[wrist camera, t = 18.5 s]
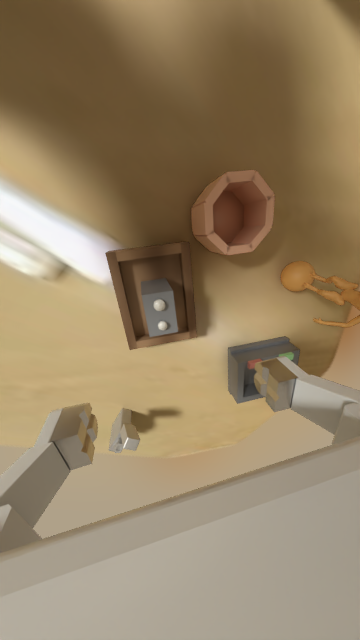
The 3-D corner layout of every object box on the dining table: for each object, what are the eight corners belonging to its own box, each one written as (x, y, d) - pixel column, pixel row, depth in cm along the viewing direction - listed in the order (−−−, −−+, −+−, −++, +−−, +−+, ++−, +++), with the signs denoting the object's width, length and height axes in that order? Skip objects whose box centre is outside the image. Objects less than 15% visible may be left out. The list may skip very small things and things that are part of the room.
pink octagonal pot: (193, 253, 25) (206, 258, 20) (188, 187, 22) (202, 173, 17) (245, 246, 26) (270, 249, 21) (247, 182, 23) (277, 167, 18)
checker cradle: (228, 390, 35) (238, 408, 32) (228, 347, 32) (239, 362, 28) (279, 378, 37) (295, 394, 33) (285, 336, 33) (303, 349, 29)
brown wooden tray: (130, 340, 28) (129, 349, 26) (108, 251, 23) (105, 253, 21) (192, 329, 29) (197, 337, 27) (184, 241, 24) (189, 242, 22)
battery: (147, 315, 26) (149, 339, 20) (140, 281, 24) (141, 296, 18) (170, 311, 26) (178, 333, 20) (165, 278, 24) (173, 291, 19)
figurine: (296, 239, 27) (404, 242, 16) (323, 260, 29) (435, 276, 18) (260, 293, 29) (333, 328, 18) (288, 309, 31) (368, 350, 20)
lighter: (121, 427, 34) (116, 479, 27) (111, 425, 33) (104, 478, 26) (140, 397, 32) (140, 444, 25) (130, 394, 32) (127, 442, 24)
